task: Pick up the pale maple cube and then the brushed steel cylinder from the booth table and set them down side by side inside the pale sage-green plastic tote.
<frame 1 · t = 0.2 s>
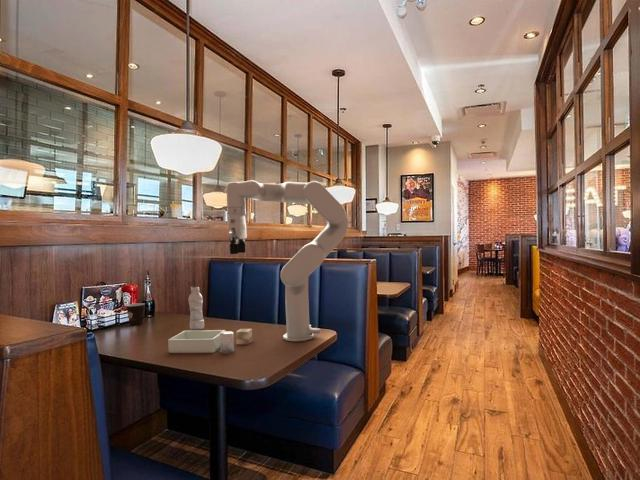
hand: (238, 253, 163), 36 cm above the table, tool pointing down, fingers open, 9 cm apart
plastic bottle: (197, 330, 182), on the table
tote: (198, 347, 153), on the table
maple cube: (244, 342, 158), on the table
coffee mug: (137, 325, 199), on the table
steel cylinder: (227, 351, 146), on the table
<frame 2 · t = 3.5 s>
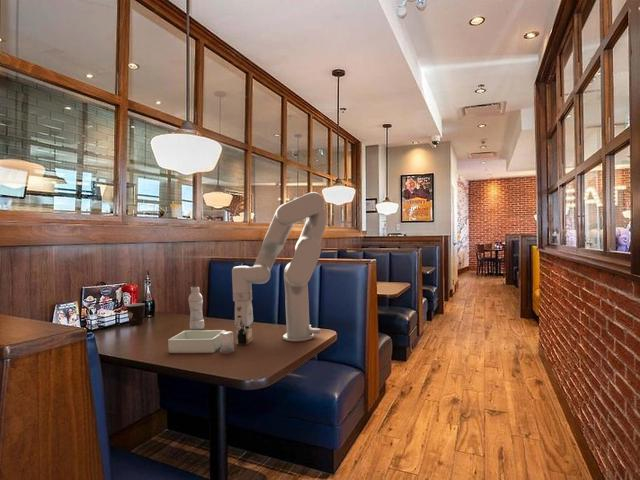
hand: (244, 341, 158), 0 cm above the table, tool pointing down, fingers closed on maple cube, 5 cm apart
maple cube: (244, 342, 158), on the table, touching gripper
everything else where it was.
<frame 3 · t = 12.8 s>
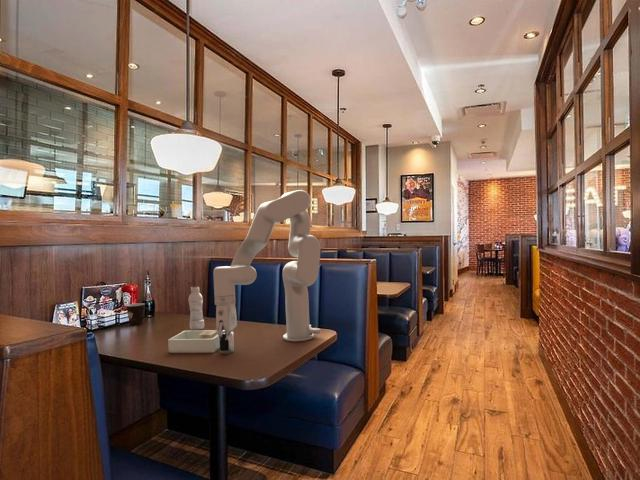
hand: (227, 347, 146), 1 cm above the table, tool pointing down, fingers closed on steel cylinder, 5 cm apart
maple cube: (208, 345, 153), point 1 cm above the table, touching tote
steel cylinder: (227, 351, 146), on the table, touching gripper
everything else where it was.
when the fingers open (4 cm above the table, at t = 18.6 s): steel cylinder drops 2 cm, resting on tote.
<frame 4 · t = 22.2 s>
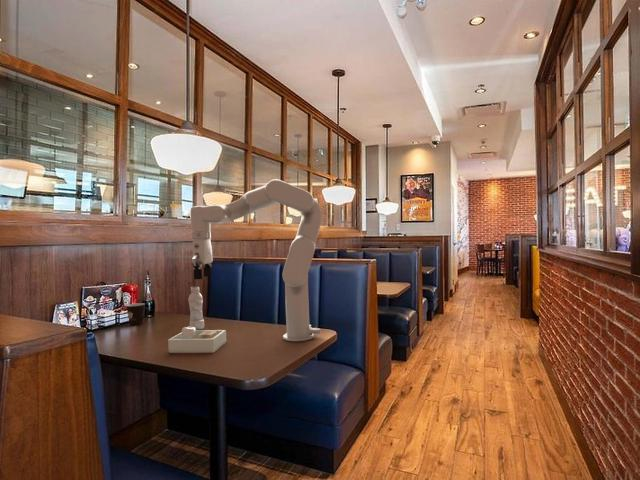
hand: (203, 277, 161), 26 cm above the table, tool pointing down, fingers open, 9 cm apart
steel cylinder: (188, 345, 153), point 1 cm above the table, touching tote
everything else where it was.
at the end: maple cube inside the target area on the tote (4.0 cm from its centre), point 0.6 cm above the tote's base; steel cylinder inside the target area on the tote (3.9 cm from its centre), point 0.7 cm above the tote's base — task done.
